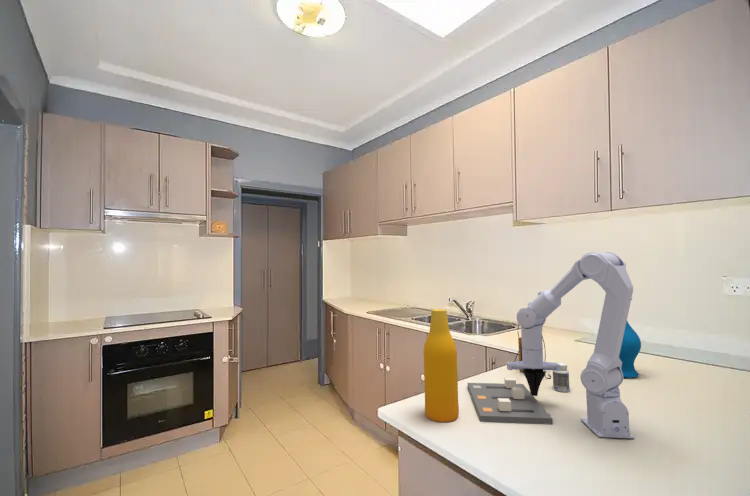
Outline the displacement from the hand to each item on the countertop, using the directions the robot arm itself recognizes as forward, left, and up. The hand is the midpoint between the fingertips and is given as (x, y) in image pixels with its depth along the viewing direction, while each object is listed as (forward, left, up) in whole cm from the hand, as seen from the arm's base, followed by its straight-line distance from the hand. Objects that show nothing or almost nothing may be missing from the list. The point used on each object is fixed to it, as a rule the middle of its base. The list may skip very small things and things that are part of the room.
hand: (533, 394), depth 103 cm
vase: (+31, -41, -3) cm, 51 cm away
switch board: (0, +8, -3) cm, 9 cm away
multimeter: (+31, -10, -3) cm, 33 cm away
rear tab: (+9, +4, -1) cm, 10 cm away
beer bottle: (-10, +27, -3) cm, 29 cm away
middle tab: (0, +4, -1) cm, 5 cm away
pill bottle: (+13, -13, -3) cm, 18 cm away
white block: (-9, +11, -1) cm, 14 cm away
